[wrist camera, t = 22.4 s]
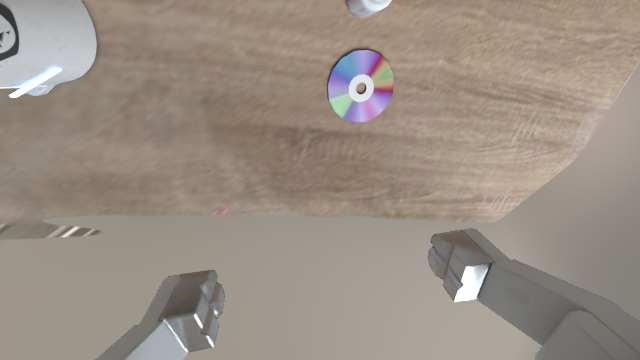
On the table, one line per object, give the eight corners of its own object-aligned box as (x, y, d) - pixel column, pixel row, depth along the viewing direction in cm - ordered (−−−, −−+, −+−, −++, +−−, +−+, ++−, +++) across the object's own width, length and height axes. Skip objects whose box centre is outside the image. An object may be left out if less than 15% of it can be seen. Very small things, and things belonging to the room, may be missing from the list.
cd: (382, 126, 41) (383, 126, 41) (322, 118, 39) (322, 118, 39) (402, 56, 36) (403, 56, 36) (334, 42, 34) (334, 42, 34)
